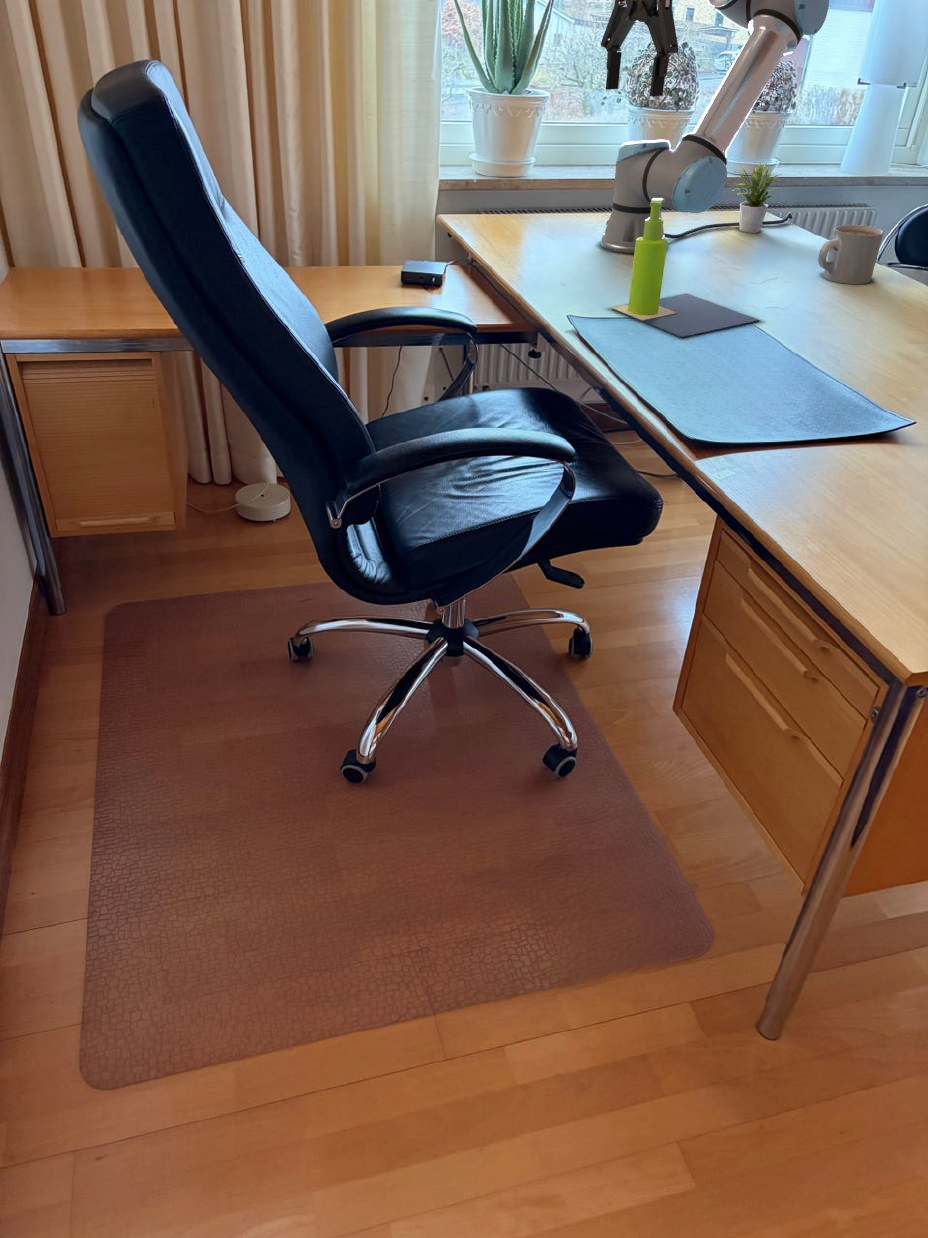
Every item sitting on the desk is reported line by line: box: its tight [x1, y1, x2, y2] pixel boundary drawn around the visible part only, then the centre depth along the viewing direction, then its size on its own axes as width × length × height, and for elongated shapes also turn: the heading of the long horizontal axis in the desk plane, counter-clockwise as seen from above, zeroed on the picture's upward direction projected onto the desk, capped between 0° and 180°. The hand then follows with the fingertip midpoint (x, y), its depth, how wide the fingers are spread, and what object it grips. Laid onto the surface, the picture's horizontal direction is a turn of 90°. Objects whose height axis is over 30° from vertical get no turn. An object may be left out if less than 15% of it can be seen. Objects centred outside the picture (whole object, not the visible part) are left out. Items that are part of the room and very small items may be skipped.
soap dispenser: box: [627, 198, 668, 315], centre depth 174 cm, size 6×7×20 cm
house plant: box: [733, 162, 782, 234], centre depth 235 cm, size 14×14×16 cm
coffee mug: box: [817, 224, 884, 285], centre depth 199 cm, size 13×10×10 cm
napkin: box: [611, 293, 760, 339], centre depth 178 cm, size 20×20×1 cm
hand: (633, 92), depth 184 cm, fingers open, 13 cm apart
